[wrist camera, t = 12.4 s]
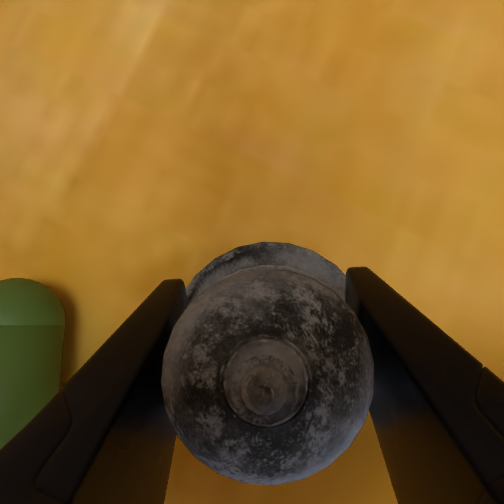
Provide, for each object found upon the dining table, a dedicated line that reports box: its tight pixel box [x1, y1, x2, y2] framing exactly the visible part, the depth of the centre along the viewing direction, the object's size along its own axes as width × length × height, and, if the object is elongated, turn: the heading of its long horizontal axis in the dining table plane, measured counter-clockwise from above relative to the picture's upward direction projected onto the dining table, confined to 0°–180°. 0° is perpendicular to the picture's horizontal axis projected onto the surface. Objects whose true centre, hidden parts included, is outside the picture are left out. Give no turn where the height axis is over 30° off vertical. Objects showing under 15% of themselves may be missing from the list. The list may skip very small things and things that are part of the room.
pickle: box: [0, 278, 65, 449], centre depth 15 cm, size 9×3×3 cm, turn 178°
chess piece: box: [161, 242, 374, 485], centre depth 10 cm, size 6×6×12 cm
